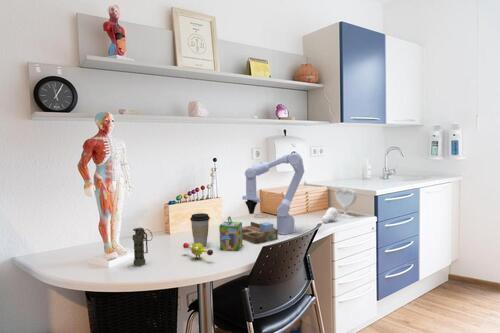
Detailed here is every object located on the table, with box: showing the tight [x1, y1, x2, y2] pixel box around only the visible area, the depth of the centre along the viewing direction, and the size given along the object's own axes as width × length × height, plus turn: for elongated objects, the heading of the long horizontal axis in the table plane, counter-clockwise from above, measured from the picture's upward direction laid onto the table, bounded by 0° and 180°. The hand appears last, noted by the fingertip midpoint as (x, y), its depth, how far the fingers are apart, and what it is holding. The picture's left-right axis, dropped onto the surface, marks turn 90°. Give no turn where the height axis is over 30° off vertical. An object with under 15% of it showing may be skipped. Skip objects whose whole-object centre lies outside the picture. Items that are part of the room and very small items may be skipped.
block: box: [259, 221, 274, 233], centre depth 175 cm, size 5×5×5 cm
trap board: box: [242, 221, 279, 245], centre depth 180 cm, size 14×22×5 cm, turn 36°
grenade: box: [132, 227, 153, 267], centre depth 141 cm, size 9×6×15 cm, turn 132°
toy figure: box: [182, 242, 214, 260], centre depth 147 cm, size 18×6×7 cm, turn 50°
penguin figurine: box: [321, 206, 339, 224], centre depth 210 cm, size 6×8×12 cm
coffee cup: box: [189, 212, 211, 248], centre depth 166 cm, size 9×9×15 cm
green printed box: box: [218, 215, 243, 251], centre depth 162 cm, size 9×9×15 cm
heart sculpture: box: [334, 187, 358, 219], centre depth 227 cm, size 16×5×18 cm, turn 34°
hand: (251, 213), depth 191 cm, fingers closed
